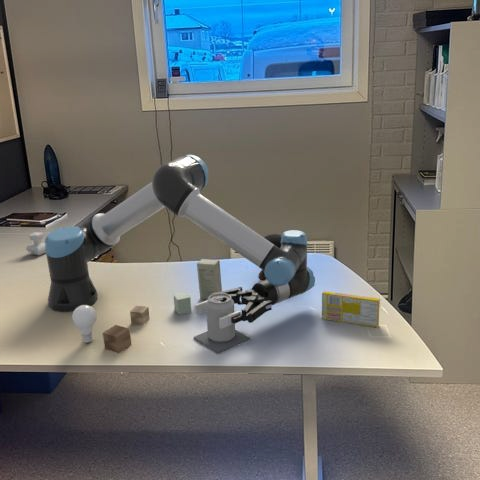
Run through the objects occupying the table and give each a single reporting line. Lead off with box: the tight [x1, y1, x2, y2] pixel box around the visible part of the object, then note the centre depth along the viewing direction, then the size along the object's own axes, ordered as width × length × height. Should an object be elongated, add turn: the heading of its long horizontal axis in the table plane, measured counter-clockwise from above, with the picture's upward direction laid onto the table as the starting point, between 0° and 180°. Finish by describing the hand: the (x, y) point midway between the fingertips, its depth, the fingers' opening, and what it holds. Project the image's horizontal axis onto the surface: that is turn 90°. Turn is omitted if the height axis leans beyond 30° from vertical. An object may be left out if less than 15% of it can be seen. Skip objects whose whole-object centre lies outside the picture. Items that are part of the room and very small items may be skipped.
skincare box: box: [196, 258, 223, 300], centre depth 177 cm, size 6×4×12 cm
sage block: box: [173, 291, 192, 316], centre depth 170 cm, size 4×4×5 cm
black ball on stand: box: [258, 233, 282, 281], centre depth 190 cm, size 13×13×15 cm
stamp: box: [25, 231, 46, 256], centre depth 222 cm, size 9×7×8 cm
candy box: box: [321, 290, 381, 329], centre depth 159 cm, size 16×2×8 cm, turn 66°
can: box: [205, 293, 236, 342], centre depth 151 cm, size 8×8×12 cm
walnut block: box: [102, 324, 132, 354], centre depth 151 cm, size 5×5×5 cm
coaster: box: [193, 329, 251, 355], centre depth 153 cm, size 11×11×1 cm
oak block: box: [129, 305, 150, 326], centre depth 164 cm, size 4×4×4 cm
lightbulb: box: [71, 305, 97, 344], centre depth 152 cm, size 6×6×11 cm
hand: (207, 316), depth 148 cm, fingers open, 10 cm apart
